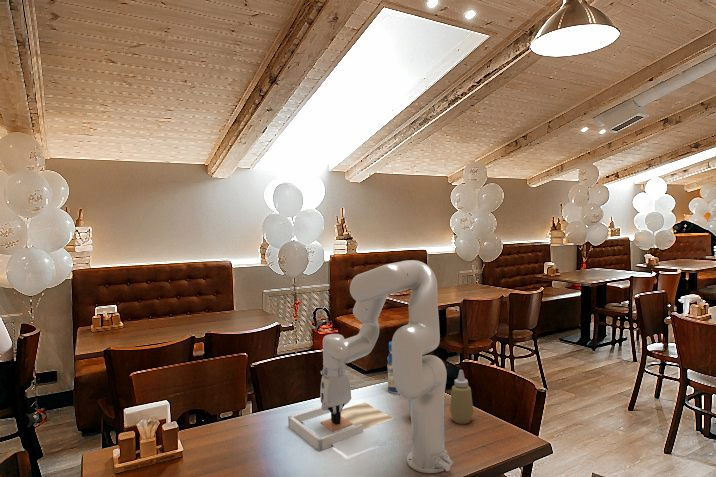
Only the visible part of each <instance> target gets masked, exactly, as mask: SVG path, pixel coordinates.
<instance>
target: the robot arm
mask: <svg viewBox="0 0 716 477" xmlns="http://www.w3.org/2000/svg"><path fill="white" fill-rule="evenodd" d="M438 288H439V287H438V281H437V277H436V274H435V273H434V270H433V269H431V267H430V266H429V265H428V264H426V263H424V262H423V261H420V260H414V259H411V260H410V259H409V260H401V261H396V262H392V263H386V264H383V265H380V266H377V267H375V268H373V269H370V270H367V271H365V272H362V273H358V274H357V275H355V276H354V277H353V278H352V280H351V282H350V285H349V293H350V296H351V297H352V298H353V300H355V304H354V306H353V308H352V314H353V316H354V317H355V319H357V320H358V321H359V322H361V323H362V325H361V327H360V329H359V331H358V333H357V334H356V335H353V336H350V337H347V338H345V337H344V335H342V334H339V333H331V334H326V335H325V336H323V339H322V359H323V360H322V365H323V367H322V370H320V375H322V376H321V379H320V380H321V381H320V394H319V396H320V399H319V400H320V403H321V406H320V407H321V409H323V410H329V411H330V419H331V421H332V422H333V423H334V424H336V425H337V424H340V423H341V422H340V420H341V412H342V409H344V407H345V405H347V404H349V403H350V401H351V400H352V389H351V383H350V377H349V374H348V372H346V364H349V363H351V362H353V361H357V360H358V359H361V358H364V357H366V356H368V355H370V353H371V352H372V350H373V349H374V347H375V345H376V343H377V342H378V341H377V340H378V338H379V335H380V324H379V317H380V314H381V312H382V309H383V307H384V306H385V303H386V300H387V299H388V296H389V295H392V294H397V293H401V292H404V291H408V290H411V293H410V296H409V300H408V323H407V324H404V325H403V326H401V327H399V328H397V329H396V331H395V332H394V333H393V336H392V340H391V341H392V364H393V378H394V384H395V387H396V389H397V391H398V393H399V394H398V395H399V396H400V397H402V398H403V399H405V400H408V399H409V400H412V401H411V417H410V420H411V451H410V452H409V453H408V454H407V456H406V461H407V462H406V463H407V465H408V466H409V467H410V468H411V469H412V470H414V471H415V472H416V471H417V472H419V473H424V474H436V473H437V474H438V473H440V472H441V473H442V472H444V471H446V472H449V471H450V470H451V466H452V465H453V464H454V460H453V459H451V458H450V456H449V454H448V451H447V450H446V449H445V392H446V384H447V375H448V374H447V368H446V365H445V363H444V362H443V360H442V359H441V358H439V357H438V356H436V355H432V354H429V353H431V352H433V351H434V350H436V349H437V348H438V347H439V345H440V340H441V337H440V336H441V334H440V319H439V318H440V316H439V306H438V304H439V302H438V294H439V293H438V292H439V291H438Z"/></svg>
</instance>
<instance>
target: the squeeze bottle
mask: <svg viewBox="0 0 716 477" xmlns="http://www.w3.org/2000/svg"><path fill="white" fill-rule="evenodd" d="M450 394H451V396H450V406H449V411H450V415H451V417H452V421H454V423H457V424H460V425H462V424H463V425H464V424H469V423H470V422H471V420H472V416H473V414H474V403H473V397H472V389H471V387H470V386H469V381H468V379H467V378H465V373H464V370H463V369H459V371H458V375H457V378H456V379H454V385H452V386H451V393H450Z"/></svg>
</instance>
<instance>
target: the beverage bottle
mask: <svg viewBox="0 0 716 477" xmlns="http://www.w3.org/2000/svg"><path fill="white" fill-rule="evenodd" d="M388 351H389V353H388V355H387V365H386V367H387V384H388V385H387V390H388V392H389V393H391V394H394V395H395V394H396V395H400V394H399V393H398V391H397V389H396V387H395V384H394V378H393V364H392V340H391V341H389V342H388Z"/></svg>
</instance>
